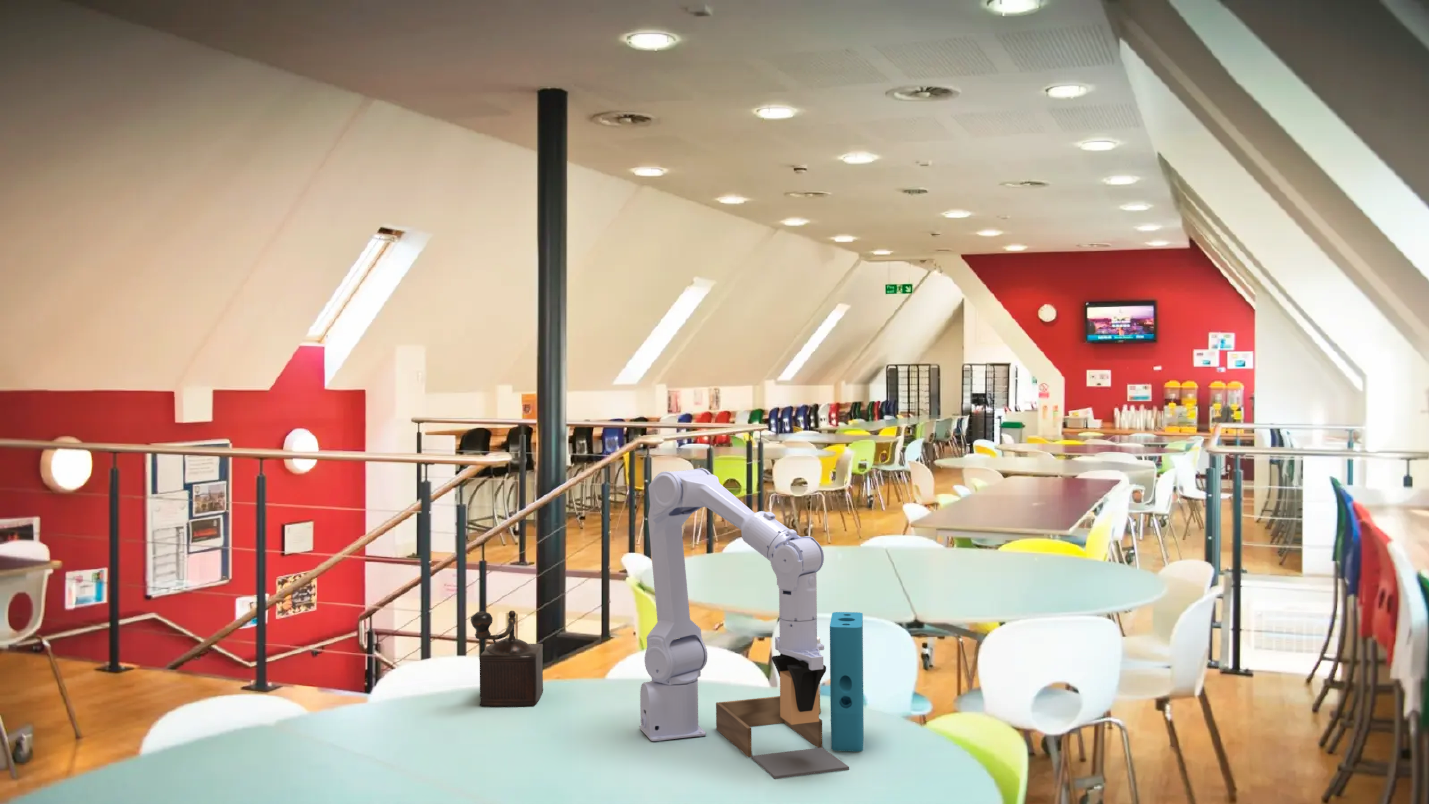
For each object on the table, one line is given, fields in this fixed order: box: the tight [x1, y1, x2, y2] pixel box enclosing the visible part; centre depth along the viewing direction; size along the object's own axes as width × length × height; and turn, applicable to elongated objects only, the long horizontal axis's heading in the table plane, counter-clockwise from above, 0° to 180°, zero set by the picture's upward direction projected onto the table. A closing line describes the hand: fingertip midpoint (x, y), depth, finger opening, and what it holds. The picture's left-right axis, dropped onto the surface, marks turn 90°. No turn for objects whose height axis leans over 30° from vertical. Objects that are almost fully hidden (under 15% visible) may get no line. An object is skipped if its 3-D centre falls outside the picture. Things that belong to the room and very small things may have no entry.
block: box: [829, 611, 865, 753], centre depth 189 cm, size 12×5×20 cm, turn 172°
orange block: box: [779, 671, 820, 725], centre depth 179 cm, size 4×4×7 cm
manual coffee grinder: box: [470, 610, 544, 708], centre depth 215 cm, size 16×11×18 cm
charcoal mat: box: [750, 746, 850, 780], centre depth 179 cm, size 12×10×1 cm
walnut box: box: [715, 695, 823, 758], centre depth 192 cm, size 13×16×4 cm
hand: (798, 706), depth 179 cm, fingers closed on orange block, 4 cm apart
